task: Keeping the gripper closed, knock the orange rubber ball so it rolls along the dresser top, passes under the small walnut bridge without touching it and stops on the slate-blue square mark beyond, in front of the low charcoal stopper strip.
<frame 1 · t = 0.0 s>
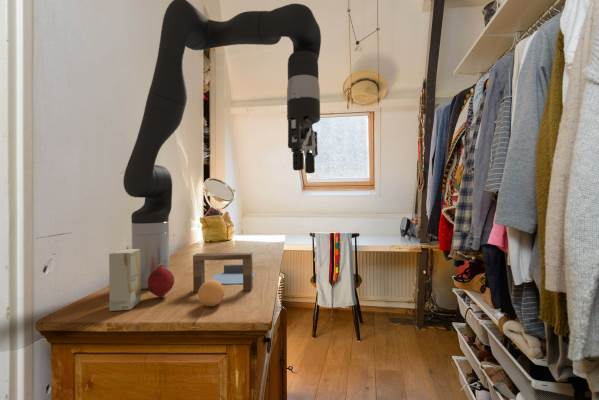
hand: (304, 171, 69), 29 cm above the table, tool pointing down, fingers open, 8 cm apart
bridge: (223, 289, 77), on the table
onion: (161, 298, 72), on the table
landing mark: (232, 278, 88), on the table
ball: (211, 293, 66), on the table
stopper strip: (236, 272, 95), on the table
skincare box: (126, 306, 66), on the table
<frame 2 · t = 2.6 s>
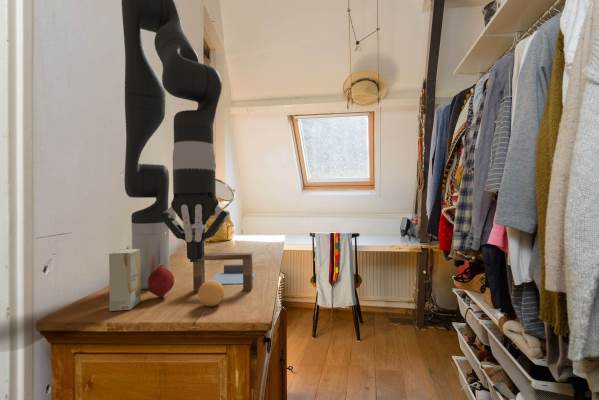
hand: (196, 261, 56), 12 cm above the table, tool pointing down, fingers closed
nothing on the table moved.
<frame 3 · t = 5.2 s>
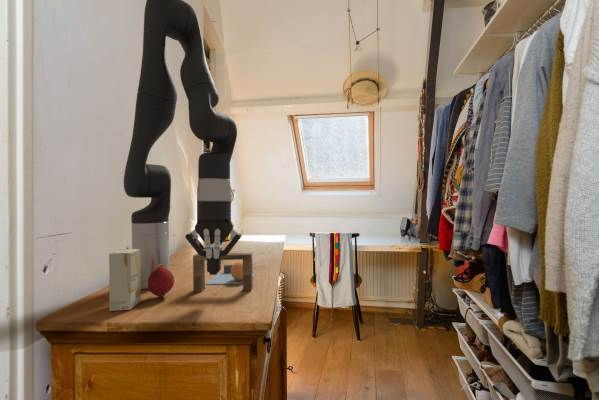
hand: (214, 273, 69), 6 cm above the table, tool pointing down, fingers closed
ball: (240, 270, 86), on the table
everything else where it was.
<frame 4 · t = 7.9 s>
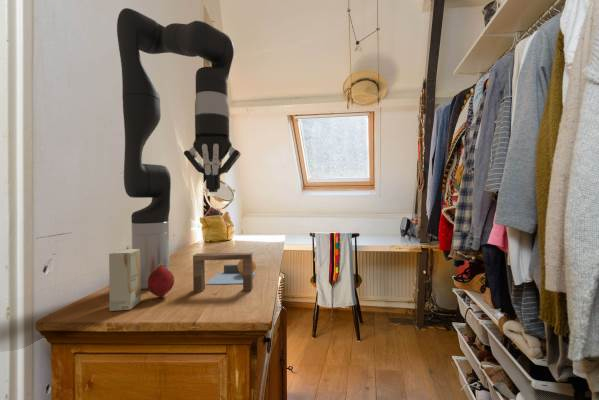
hand: (213, 191, 69), 25 cm above the table, tool pointing down, fingers closed
ball: (246, 266, 92), on the table
everything else where it was.
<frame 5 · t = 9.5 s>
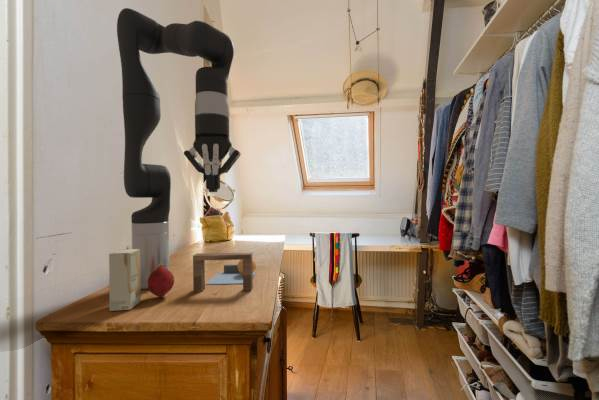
hand: (213, 191, 69), 25 cm above the table, tool pointing down, fingers closed
nothing on the table moved.
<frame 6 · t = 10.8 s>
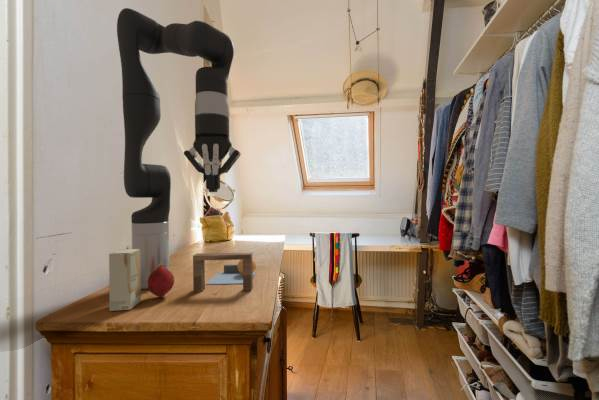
hand: (213, 191, 69), 25 cm above the table, tool pointing down, fingers closed
nothing on the table moved.
at the end: ball 5.1 cm from the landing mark (horizontally); ball never touched bridge; ball at rest at the end (0.0 cm/s) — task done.
